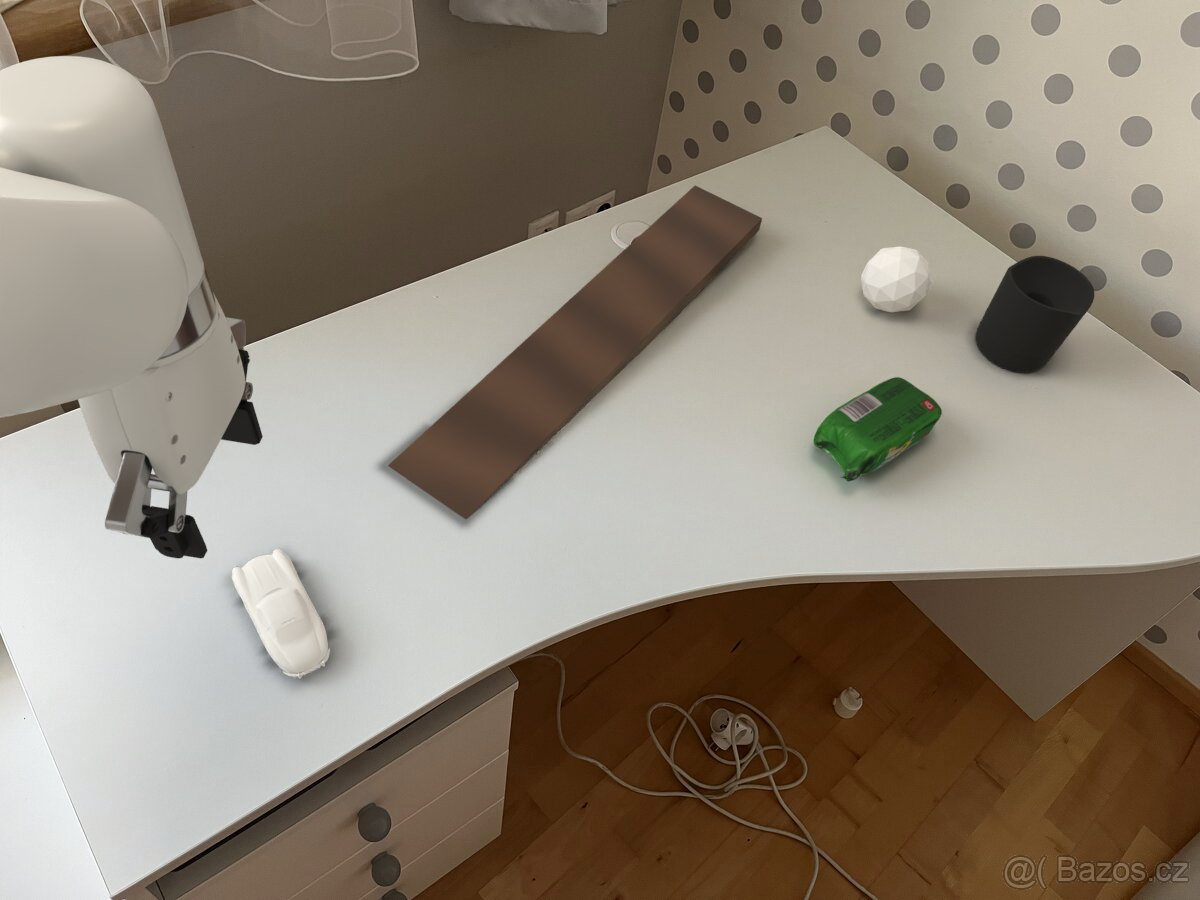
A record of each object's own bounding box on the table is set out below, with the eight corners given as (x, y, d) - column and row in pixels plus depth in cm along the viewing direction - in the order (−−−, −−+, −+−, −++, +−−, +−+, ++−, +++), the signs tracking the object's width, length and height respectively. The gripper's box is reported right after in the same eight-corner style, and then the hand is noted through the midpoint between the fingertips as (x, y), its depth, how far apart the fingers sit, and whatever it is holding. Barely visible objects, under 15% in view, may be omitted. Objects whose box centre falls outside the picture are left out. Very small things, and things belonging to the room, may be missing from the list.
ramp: (465, 533, 84) (464, 500, 80) (387, 479, 88) (382, 444, 83) (753, 252, 116) (763, 217, 111) (688, 219, 119) (695, 184, 114)
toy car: (285, 554, 79) (278, 532, 76) (342, 662, 73) (336, 643, 70) (230, 578, 77) (221, 557, 74) (284, 691, 71) (277, 673, 68)
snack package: (793, 453, 92) (807, 420, 88) (891, 392, 99) (908, 359, 95) (843, 500, 89) (860, 468, 85) (941, 434, 96) (961, 401, 92)
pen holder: (1060, 380, 103) (1106, 316, 95) (980, 372, 102) (1020, 307, 95) (1038, 324, 109) (1080, 259, 101) (962, 316, 108) (999, 250, 101)
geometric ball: (878, 309, 112) (918, 253, 109) (914, 333, 105) (957, 275, 103) (836, 283, 108) (876, 225, 106) (871, 307, 102) (914, 246, 99)
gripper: (141, 197, 53) (209, 392, 67) (-23, 408, 42) (97, 592, 56) (265, 217, 53) (309, 408, 67) (133, 433, 42) (216, 612, 56)
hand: (213, 492), depth 61 cm, fingers open, 9 cm apart
